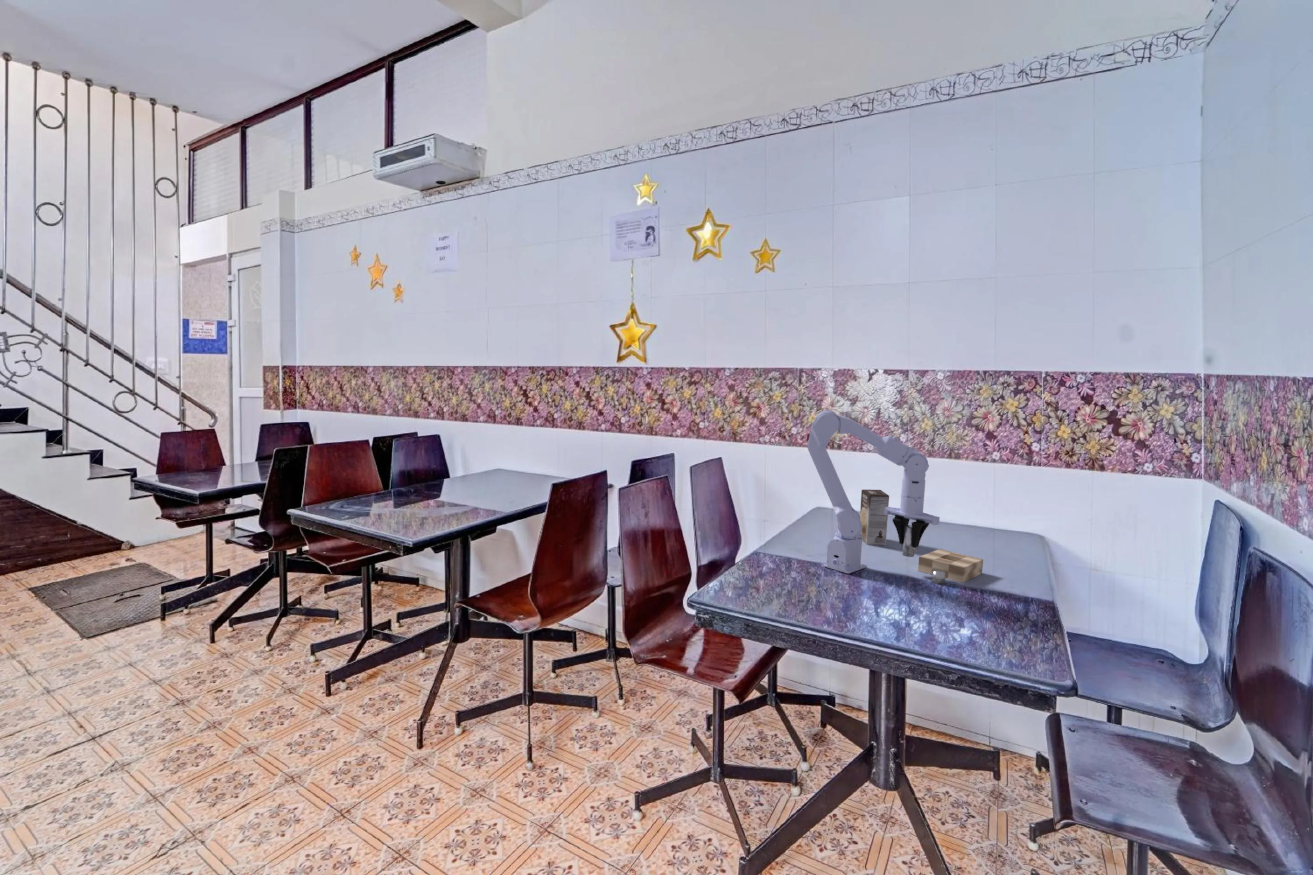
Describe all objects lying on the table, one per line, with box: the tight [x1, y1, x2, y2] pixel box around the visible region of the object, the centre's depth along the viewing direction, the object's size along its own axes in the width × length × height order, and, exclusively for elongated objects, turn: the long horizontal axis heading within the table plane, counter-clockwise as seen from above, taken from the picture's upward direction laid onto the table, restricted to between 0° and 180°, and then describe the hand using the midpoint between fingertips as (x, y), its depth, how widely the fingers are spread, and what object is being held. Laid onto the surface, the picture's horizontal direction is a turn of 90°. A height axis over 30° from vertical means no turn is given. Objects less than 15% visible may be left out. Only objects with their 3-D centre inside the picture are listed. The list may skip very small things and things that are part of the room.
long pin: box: [901, 524, 916, 558], centre depth 169 cm, size 3×3×8 cm
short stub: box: [931, 570, 946, 586], centre depth 163 cm, size 3×3×3 cm
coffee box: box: [859, 489, 890, 546], centre depth 200 cm, size 9×6×16 cm
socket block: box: [917, 548, 984, 584], centre depth 171 cm, size 12×12×4 cm
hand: (908, 545), depth 169 cm, fingers closed on long pin, 3 cm apart
